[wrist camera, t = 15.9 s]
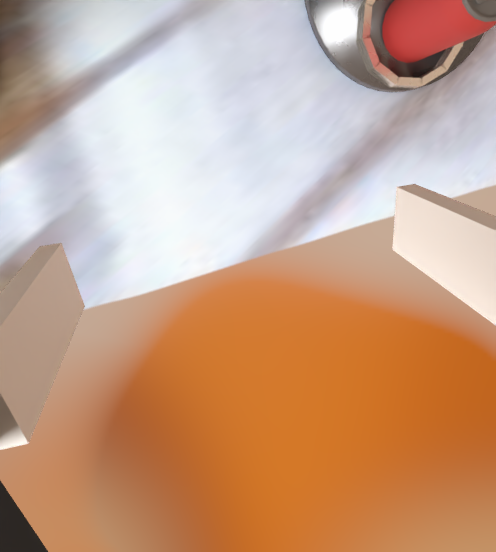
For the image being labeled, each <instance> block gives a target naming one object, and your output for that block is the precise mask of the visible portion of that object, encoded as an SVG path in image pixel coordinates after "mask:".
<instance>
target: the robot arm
mask: <svg viewBox="0 0 496 552" xmlns="http://www.w3.org/2000/svg"><path fill="white" fill-rule="evenodd" d="M393 250H394V251H395V252H397V253H398V254H399V255H401V256H402V257H403V258H405V259H406V260H407V261H409V262H411V263H412V264H413V265H414V266H416V267H417V268H418V269H420V270H421V271H422V272H424V273H425V274H427V275H428V276H429V277H431V278H432V279H433V280H435V281H436V282H437V283H439V284H440V285H441V286H443V287H444V288H446V289H447V290H448V291H450V292H451V293H452V294H454V295H455V296H456V297H458V298H459V299H461V300H462V301H463V302H465V303H466V304H468V305H469V306H470V307H471V308H473V309H474V310H475V311H477V312H478V313H480V314H481V315H482V316H484V317H485V318H486V319H488V320H489V321H490V322H492V323H493V324H495V325H496V216H494V215H491V214H488V213H486V212H484V211H481V210H478V209H476V208H473V207H471V206H469V205H466V204H464V203H461V202H459V201H456V200H453V199H451V198H448V197H446V196H443V195H441V194H438V193H436V192H433V191H431V190H428V189H426V188H423V187H421V186H418V185H416V184H412V185H406V186H400V187H397V191H396V206H395V221H394V236H393ZM84 307H85V306H84V303H83V300H82V298H81V295H80V292H79V290H78V287H77V284H76V281H75V279H74V276H73V273H72V271H71V268H70V265H69V263H68V260H67V257H66V254H65V252H64V249H63V246H62V244H61V243H58V244H52V245H46V246H40V247H39V248H38V249H37V250H36V251H35V253H34V254H33V255H32V256H31V257H30V259H29V260H28V261H27V262H26V263H25V264H24V266H23V267H22V268H21V269H20V270H19V271H18V273H17V274H16V275H15V276H14V277H13V279H12V280H11V281H10V282H9V283H8V284H7V286H6V287H5V288H4V289H3V290H2V291H1V293H0V450H1V449H6V448H10V447H14V446H20V445H24V444H29V441H30V439H31V436H32V434H33V432H34V429H35V426H36V424H37V422H38V419H39V417H40V414H41V412H42V409H43V407H44V405H45V402H46V400H47V397H48V395H49V392H50V390H51V387H52V385H53V383H54V380H55V378H56V375H57V373H58V370H59V368H60V366H61V363H62V361H63V358H64V356H65V353H66V351H67V348H68V346H69V343H70V341H71V339H72V336H73V334H74V331H75V329H76V326H77V324H78V321H79V319H80V317H81V314H82V311H83V309H84ZM0 552H48V551H47V550H46V548H45V546H44V545H43V543H42V542H41V540H40V539H39V537H38V536H37V534H36V533H35V531H34V530H33V529H32V527H31V526H30V524H29V523H28V521H27V520H26V518H25V517H24V515H23V514H22V512H21V511H20V509H19V508H18V507H17V505H16V503H15V502H14V500H13V499H12V497H11V496H10V494H9V493H8V491H7V490H6V488H5V487H4V485H3V484H2V483H1V481H0Z"/></svg>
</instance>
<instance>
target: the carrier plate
mask: <svg viewBox="0 0 496 552" xmlns="http://www.w3.org/2000/svg"><path fill="white" fill-rule="evenodd" d="M393 1H394V0H305V6H306V10H307V14H308V18H309V21H310V24H311V27H312V29H313V32H314V34H315V36H316V38H317V40H318V42H319V44H320V46H321V48H322V49H323V51H324V52H325V54H326V55H327V57H328V58H329V59H330V61H331V62H332V63H333V64H334V65H335V66H336V67H337V68H338V69H339V70H340V71H341V72H342V73H343V74H345V75H346V76H347V77H348V78H350V79H352V80H353V81H355V82H356V83H358V84H360V85H363V86H365V87H367V88H370V89H374V90H378V91H384V92H403V91H408V90H413V89H417V88H420V87H423V86H426V85H428V84H431V83H433V82H435V81H437V80H439V79H441V78H443V77H444V76H446V75H447V74H449V73H450V72H451V71H453V70H454V69H455V68H456V67H457V66H458V65H460V64H461V63H462V62H463V61H464V60H465V59H466V57H467V56H468V55H469V54H470V53H471V52H472V51H473V49H474V48H475V46H476V45H477V43H478V42H479V41H480V39H481V37H482V36H483V34H484V33H482V34H480V35H478V36H476V37H473V38H471V39H469V40H466V41H464V42H461V43H459V44H457V45H454V46H452V47H450V48H447V49H445V50H442V51H440V52H438V53H435V54H433V55H431V56H428V57H426V58H423V59H421V60H419V61H416V62H410V63H405V62H402V61H398V60H397V59H395V58H394V57H393V56H392V55H390V53H389V52H388V50H387V49H386V47H385V44H384V40H383V37H382V25H383V21H384V17H385V14H386V12H387V10H388V8H389V6H390V5H391V3H392V2H393Z"/></svg>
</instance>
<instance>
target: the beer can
mask: <svg viewBox="0 0 496 552" xmlns="http://www.w3.org/2000/svg"><path fill="white" fill-rule="evenodd" d="M495 24H496V0H394V1H393V2H392V3H391V5H390V6H389V8H388V10H387V12H386V14H385V17H384V21H383V25H382V37H383V40H384V44H385V47H386V49H387V50H388V52H389V53H390V55H392V56H393V57H394V58H395V59H397V60H398V61H402V62H405V63H410V62H416V61H419V60H421V59H423V58H426V57H428V56H431V55H433V54H435V53H438V52H440V51H442V50H445V49H447V48H450V47H452V46H454V45H457V44H459V43H461V42H464V41H466V40H469V39H471V38H473V37H476V36H478V35H480V34H482V33H484V32H486V31H488V30H489V29H490V28H492V27H493V26H494V25H495Z"/></svg>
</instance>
